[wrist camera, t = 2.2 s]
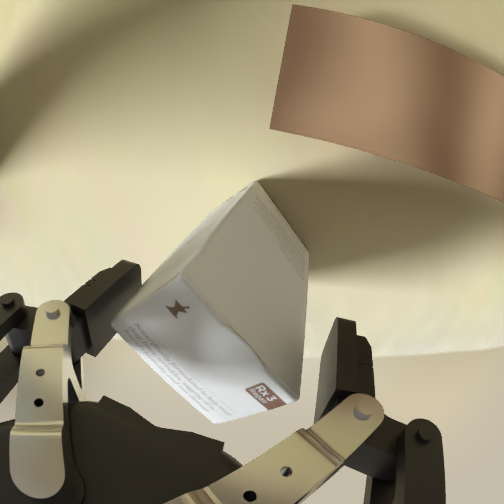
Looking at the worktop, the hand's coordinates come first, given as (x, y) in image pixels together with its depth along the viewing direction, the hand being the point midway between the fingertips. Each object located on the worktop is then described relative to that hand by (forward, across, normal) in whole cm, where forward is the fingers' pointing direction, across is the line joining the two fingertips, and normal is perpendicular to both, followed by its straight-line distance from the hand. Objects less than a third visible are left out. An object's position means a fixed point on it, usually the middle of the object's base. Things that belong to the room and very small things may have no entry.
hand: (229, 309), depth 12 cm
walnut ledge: (+9, -7, -9) cm, 15 cm away
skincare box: (+9, 0, +1) cm, 9 cm away
